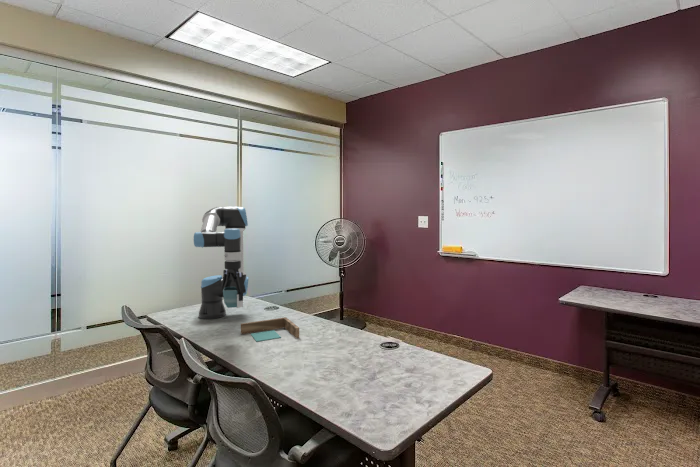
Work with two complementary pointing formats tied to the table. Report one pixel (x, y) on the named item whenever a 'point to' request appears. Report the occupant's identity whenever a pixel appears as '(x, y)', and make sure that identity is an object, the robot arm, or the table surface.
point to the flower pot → (230, 296)
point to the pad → (265, 335)
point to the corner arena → (270, 326)
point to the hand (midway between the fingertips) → (233, 305)
